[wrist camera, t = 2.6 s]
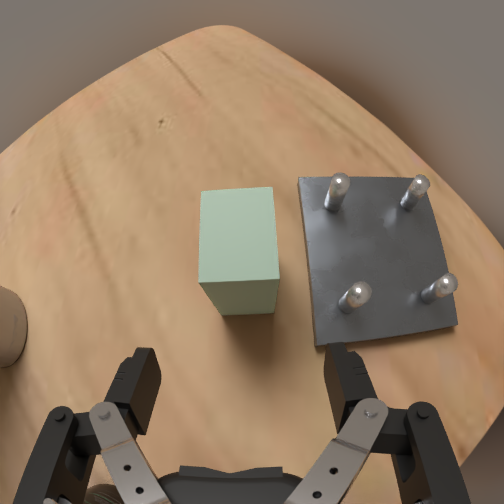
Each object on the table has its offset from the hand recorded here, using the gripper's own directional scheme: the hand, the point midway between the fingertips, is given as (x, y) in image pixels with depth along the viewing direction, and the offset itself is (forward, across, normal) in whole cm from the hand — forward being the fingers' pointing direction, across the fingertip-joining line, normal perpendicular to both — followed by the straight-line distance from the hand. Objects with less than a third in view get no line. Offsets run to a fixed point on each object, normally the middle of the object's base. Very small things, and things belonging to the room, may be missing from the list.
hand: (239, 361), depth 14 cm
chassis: (+15, -12, +2) cm, 20 cm away
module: (+14, 0, +3) cm, 14 cm away
